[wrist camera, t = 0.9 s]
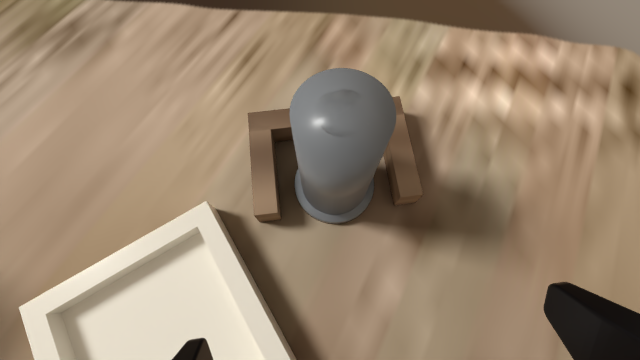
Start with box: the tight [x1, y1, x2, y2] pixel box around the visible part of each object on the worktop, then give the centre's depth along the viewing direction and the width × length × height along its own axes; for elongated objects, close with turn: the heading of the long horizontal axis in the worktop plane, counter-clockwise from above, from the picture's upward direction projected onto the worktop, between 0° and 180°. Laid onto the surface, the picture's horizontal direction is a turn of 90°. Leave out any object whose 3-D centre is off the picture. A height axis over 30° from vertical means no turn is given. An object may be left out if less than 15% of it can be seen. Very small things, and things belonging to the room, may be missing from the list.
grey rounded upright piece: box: [290, 68, 396, 224], centre depth 19 cm, size 6×6×10 cm
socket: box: [248, 96, 423, 222], centre depth 23 cm, size 8×11×2 cm
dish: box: [19, 201, 297, 360], centre depth 19 cm, size 12×12×2 cm
